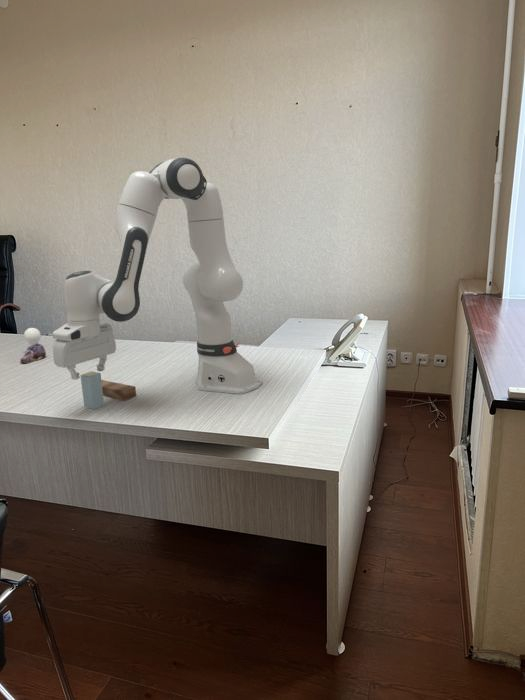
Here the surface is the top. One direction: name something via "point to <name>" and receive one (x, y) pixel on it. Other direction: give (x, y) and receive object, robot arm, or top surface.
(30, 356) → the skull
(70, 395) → the top surface
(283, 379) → the top surface
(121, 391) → the rail
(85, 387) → the block
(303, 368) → the top surface
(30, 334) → the lightbulb
